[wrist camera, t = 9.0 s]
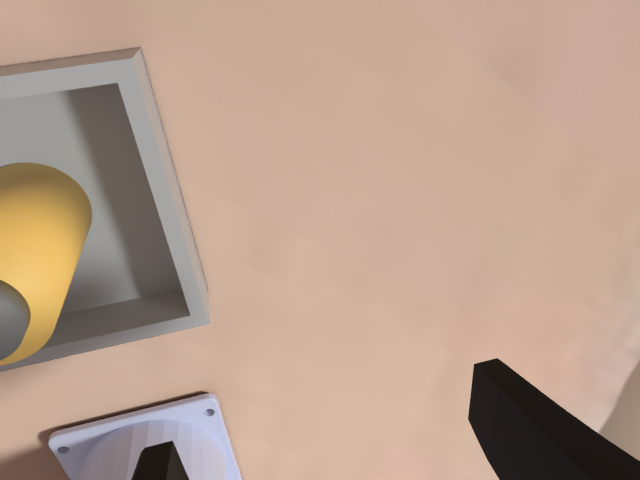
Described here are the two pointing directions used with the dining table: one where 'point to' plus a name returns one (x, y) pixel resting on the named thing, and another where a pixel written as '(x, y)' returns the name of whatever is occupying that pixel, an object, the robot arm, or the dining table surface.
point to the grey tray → (108, 197)
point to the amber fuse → (37, 252)
